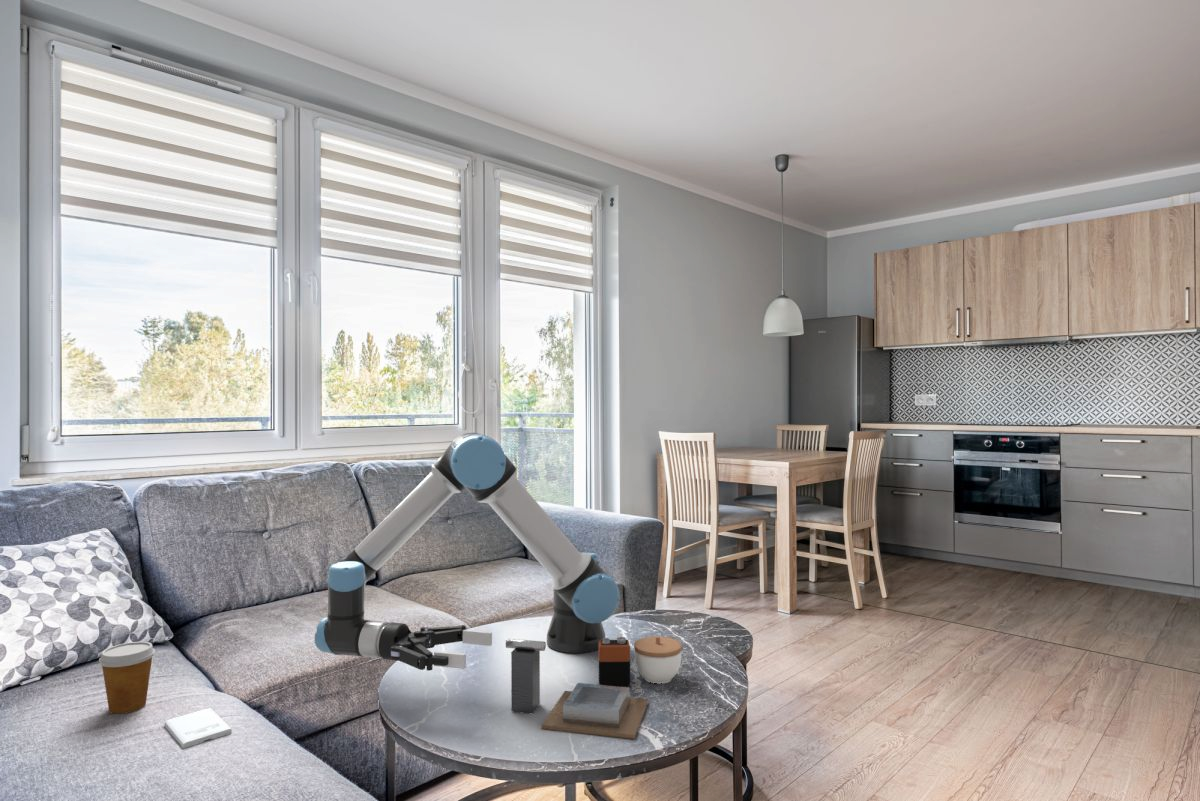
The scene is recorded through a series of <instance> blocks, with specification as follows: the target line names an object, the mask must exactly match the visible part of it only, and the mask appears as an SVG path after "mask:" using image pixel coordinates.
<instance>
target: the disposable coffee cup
mask: <svg viewBox="0 0 1200 801" xmlns="http://www.w3.org/2000/svg"><path fill="white" fill-rule="evenodd" d="M153 647H154V646H153V643H151V642H149V641H132V642H131V641H130V642H125V643H120V644H117V645H113V646H110V647H108V648H106V649H104V650H103V651H102V652H101V656H100V657H99V659H98V662H99V663H100V666H101V668H102V674H103V680H104V687H105V694H106V699H107V707H108V712H109V713H110V714H114V715H120V714H128V713H131V712H135V711H138V710H140V709H142V708H143V707H146V706H145V705H147V698H148V697H147V696H148V691H149V690H148V688H149V683H150V675H151V668H152V661H153V656H154V654H155V653H156V649H155V648H153Z"/></svg>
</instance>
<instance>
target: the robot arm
mask: <svg viewBox="0 0 1200 801" xmlns="http://www.w3.org/2000/svg"><path fill="white" fill-rule="evenodd" d="M517 474H518V468H517V467H516V466H515V464H514V463H513V462H512V461H511V460H510V458H509V457H508V456H507V455H506V454H505V451H504V450H503V448H502V446H501V445H500V444H499V442H497V441H496V440H495V439H493V438H492V437H490V436H488V435H484V434H481V433H479V432H466V433H463V434H460V435H459V436H457V437H456V438H455V439H453V440H452V442H451V443H450V444H449V445H448V446H447V448H446V449H445V450H444V452H443V453H442V454H441V455H440V456H439V457H438V459H436V461H435V462H434V463H433V464H432V465H431V471H430V472H429V474H428V475H427V476H425V477H424V479H423V480H421V482H419V484H418V485H417V486H416V487H414V489H413V490H412V491H410V493H409V494H408V495H407V496H406V497H405V498H403V500H401V502H399V503H398V504H397V506H395V508H394V509H393V510H391V512H389V514H387V516H386V517H385V518H384V519H383V520H382V521H381V522H380V523H379V524H378V525H377V526H375V527H374V529H372V531H371V532H369V534H367V536H366V537H364V539H362V540H361V542H360V543H359V544H358V545H356V547H355V548H354V549H353V550H352V551H351V552H349V553H348V555H347V556H346V557H344V558H342V559H340V561H338V562H336V563H334V564H331V565H330V566H329V568H328V575H327V604H328V605H327V606H328V607H327V616H326V617H324V618H322V619H321V620H320V621H319V622H318V624H317V626H316V632H315V633H314V644H315V647H316V648H317V650H319V651H320V652H323V653H327V654H333V655H334V656H337V655H338V656H341V655H342V656H352V657H363V658H371V660H372V661H375V660H376V659H383V660H388V661H399V662H401V663H403V664H406V665H407V666H408V665H409V666H410V667H413V668H415V669H418V670H420V671H423V670H426V671H432V670H433V669H434V668H433V667H441V668H452V669H459V670H460V669H461V670H465V669H466V668H467V666H466V665H467V654H466V653H459V652H450V651H439V650H435V651H433V652H432V651H431V650H430V649H433V648H435V646H439V645H440V646H441V645H446V644H450V643H451V644H452V643H459V642H462V644H468V645H478V646H488V647H491V646H492V645H493V632H492V631H483V630H481V631H480V630H472V629H467V626H466V625H465V624H461V625H454V626H439V627H438V626H436V627H428V626H427V627H425V626H423V627H422V626H421V627H419V628H420V629H419V630H416V631H414V632H412V631H411V630H410V628H409V626H408V625H407V624H406V623H401V622H393V621H392V622H388V621H382V620H371V619H365V598H366V596H365V595H366V594H365V592H366V584H367V582H368V581H369V580H370V579H371V578H372V577H373V576H374V575H375V574H376V573H377V572H378V571H379V569H380V568H382V566H384V564H386V563H387V561H389V560H390V558H392V556H394V554H396V552H397V551H399V549H400V548H402V547H403V545H404V544H405V543H406V542H407V541H408V540H409V539H410V538H411V537H413V535H414V534H415V533H416V532H417V531H418V530H419V529H420V528H421V527H422V526H424V524H425V523H426V522H427V521H428V520H429V519H430V518H431V517H432V516H433V515H435V513H436V512H437V511H438V510H439V509H441V507H442V506H443V505H444V504H445V503H446V502H447V501H448V500H449V499H450V498H451V497H452V496H453V495H454V494H460V493H461V492H463V491H464V489H466V490H467V491H468V492H469V493H470V495H471V496H472V497H473V498H474V499H475V500H476V502H477V503H479V504H480V503H482V504H483V503H485V504H488V506H490V507H491V509H492V510H493V511H494V512H495V513H496V514H497V515H498V516H499V518H500V519H501V520H502V521H503V522H504V524H505V525H506V526H507V527H508V528H509V529H510V531H511V532H513V534H514V535H515V536H516V537H517V539H518V540H519V541H520V542H521V543H522V544H523V545H524V546H525V548H526V549H527V550H528V552H529V553H531V555H533V557H534V558H535V560H537V562H538V563H540V564H541V566H542V568H543V569H545V571H546V572H547V573H548V574H549V576H550V577H551V578H552V581H551V586H552V589H553V598H552V599H553V612H552V617H551V621H550V623H549V626H548V627H549V628H548V630H547V634H546V646H548V648H550V649H551V650H554V651H557V652H561V653H569V654H577V653H579V654H580V653H581V654H582V653H588V652H593V651H597V650H599V640H603V639H604V638H606V632H605V628H604V626H603V622H604V621H606V620H608V619H609V618H610V617H611V616H612V615H613V614H615V612H616V610H617V608H618V607H619V604H620V599H621V594H620V593H621V592H620V589H619V585H618V584H617V582H616V580H615V578H613V577H612V576H610V575H608V574H607V573H606V571H605V570H603V568H602V567H601V566H600V561H599V556H598V554H597V553H594V552H580V551H579V550H578V549H577V548H576V547H575V545H574V544H573V543H572V541H570V539H569V538H568V537H567V536H566V535H565V533H564V532H563V531H562V530H561V529H560V528H559V527H558V525H557V524H556V523H555V522H554V520H553V519H552V518H551V517H550V516H549V515H548V513H547V512H546V511H545V510H544V509H543V507H541V505H540V504H539V503H538V501H537V500H536V499H534V497H533V496H532V495H531V494H530V492H529V491H528V490H527V489H526V488H525V487H524V485H523V484H522V483H521V482H520V481H519V479H518V476H517Z"/></svg>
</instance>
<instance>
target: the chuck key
mask: <svg viewBox="0 0 1200 801" xmlns="http://www.w3.org/2000/svg"><path fill="white" fill-rule="evenodd" d="M546 646H547V641H543V640H541V641H540V640H528V639H520V638H519V639H514V638H506V640H505V648H506V649H512V650H511V652H510V653H511V657H510V658H511V662H510V663H511V665H510V666H511V667H510V668H511V669H510V670H511V672H510V674H511V696H510V697H511V698H510V699H511V706H510V707H511V711H514V713H520V712H523V713H522V714H529V713H533V714H534V711H535V712H536V710H537V709H538V707H539V706H540V705H541V702H540V699H541V698H540V697H541V696H540V694H541V678H540V677H541V674H540V673H541V667H540V664H541V663H540V662H541V660H540V658H541V655H540V654H541V652H544V651H545V650H546ZM540 651H541V652H540ZM539 704H540V705H539ZM538 705H539V706H538ZM536 708H537V709H536Z"/></svg>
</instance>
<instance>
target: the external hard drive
mask: <svg viewBox="0 0 1200 801" xmlns="http://www.w3.org/2000/svg"><path fill="white" fill-rule="evenodd" d="M164 727H165V728H166V730H167V731H168V732H169V733H170V735H171V736H172V737H173V738H174V740H176V741H177V744H179V745H180V747H181V748H182V749H185V748H188V747H192V746H195V745H198V744H201V743H204V742H206V741H210V740H214V739H217V738H221V737H224V736H226V735H227V736H228V735H230V734H232V733H233V730H232V728H231V726H229V725H228V724H227V723H226V722H225V720H223V719H222V717H220V716H219V715H218V714H217V713H216V712H215V711H214V710H213V709H212V708H205V709H201V710H197V711H193V712H191V713H186V714H184V715H180V716H177V717H173V718H170V719H167V720H165V721H164Z"/></svg>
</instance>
